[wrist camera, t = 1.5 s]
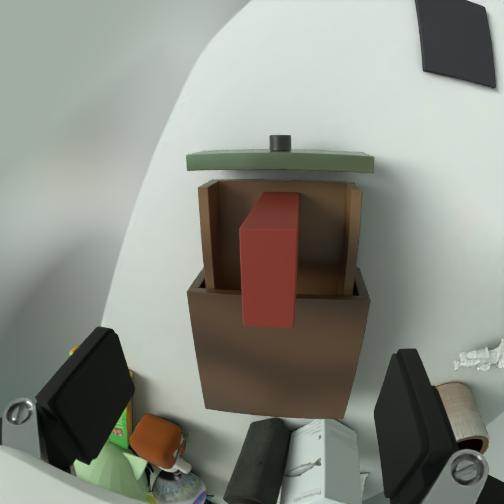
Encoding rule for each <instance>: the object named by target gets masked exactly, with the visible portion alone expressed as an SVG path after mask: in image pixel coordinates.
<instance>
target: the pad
mask: <svg viewBox="0 0 504 504" xmlns="http://www.w3.org/2000/svg"><path fill="white" fill-rule="evenodd" d="M415 4H416V11H417V17H418V25H419V33H420V42H421V52H422V65H423V71H426V72H431V73H436V74H441V75H445V76H450V77H454V78H458V79H462V80H466V81H470V82H473V83H477V84H480V85H484V86H487V87H491V88H496V82H495V69H494V59H493V51H492V44H491V37H490V31H489V25H488V20H487V15H486V10H485V7H483V6H481V5H478V4H475V3H473V2H470V1H467V0H415Z"/></svg>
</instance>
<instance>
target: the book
mask: <svg viewBox="0 0 504 504" xmlns="http://www.w3.org/2000/svg"><path fill="white" fill-rule="evenodd" d="M299 232H300V193H299V192H263V193H262V195H261V196H260V198H259V199H258V201H257V202H256V204H255V205H254V207H253V208H252V210H251V212H250V213H249V215H248V216H247V218H246V219H245V221H244V222H243V224H242V225H241V227H240V228H239V238H240V264H241V289H242V312H243V325H247V326H261V327H276V328H293V327H294V319H295V306H296V292H297V278H298V262H299Z"/></svg>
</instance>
